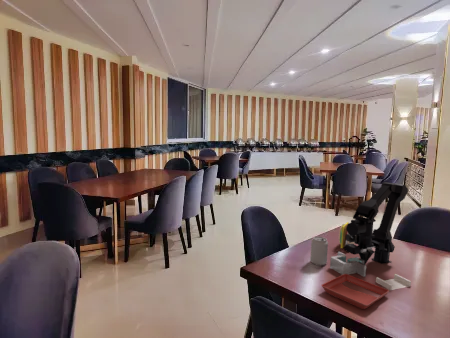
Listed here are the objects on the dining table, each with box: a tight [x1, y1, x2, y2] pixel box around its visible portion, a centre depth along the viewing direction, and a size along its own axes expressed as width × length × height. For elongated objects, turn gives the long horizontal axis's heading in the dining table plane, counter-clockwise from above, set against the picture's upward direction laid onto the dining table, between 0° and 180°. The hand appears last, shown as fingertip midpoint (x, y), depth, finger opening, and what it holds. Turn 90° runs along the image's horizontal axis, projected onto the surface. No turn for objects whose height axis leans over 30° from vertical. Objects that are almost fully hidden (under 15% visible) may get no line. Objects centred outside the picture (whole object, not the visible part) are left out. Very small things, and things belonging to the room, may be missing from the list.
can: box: [309, 236, 329, 266], centre depth 145 cm, size 8×8×12 cm
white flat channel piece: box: [375, 273, 412, 291], centre depth 124 cm, size 11×7×2 cm, turn 111°
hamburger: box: [338, 221, 355, 249], centre depth 168 cm, size 12×8×12 cm
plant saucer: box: [321, 274, 390, 310], centre depth 116 cm, size 18×18×3 cm
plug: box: [346, 256, 364, 264], centre depth 139 cm, size 7×4×4 cm, turn 112°
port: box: [329, 251, 367, 278], centre depth 137 cm, size 8×16×6 cm, turn 21°
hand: (363, 264), depth 141 cm, fingers closed
